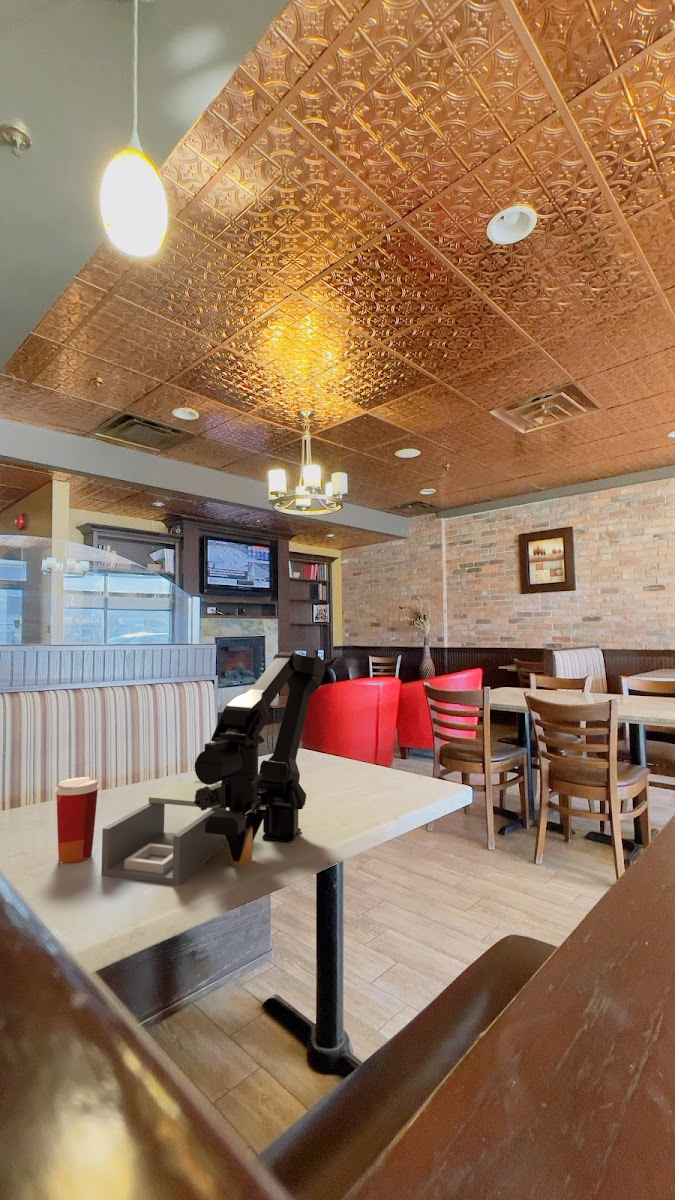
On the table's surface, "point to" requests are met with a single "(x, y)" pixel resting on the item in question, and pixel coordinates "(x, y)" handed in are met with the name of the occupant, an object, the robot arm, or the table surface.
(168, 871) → the housing
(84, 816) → the paper cup
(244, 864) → the orange rounded cylinder
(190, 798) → the lid
